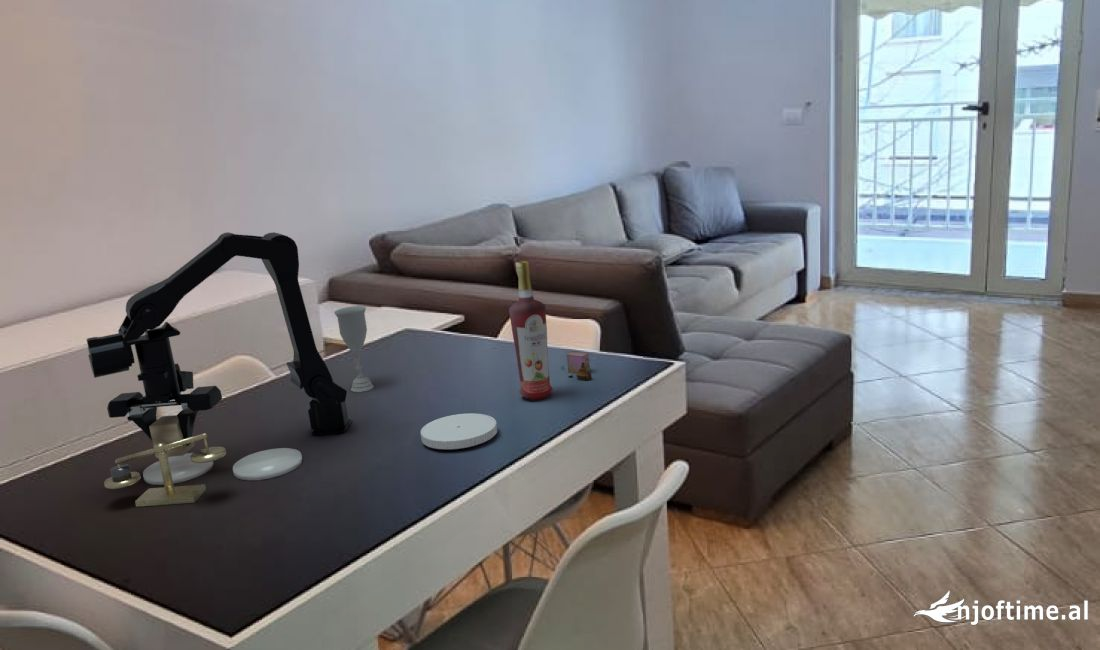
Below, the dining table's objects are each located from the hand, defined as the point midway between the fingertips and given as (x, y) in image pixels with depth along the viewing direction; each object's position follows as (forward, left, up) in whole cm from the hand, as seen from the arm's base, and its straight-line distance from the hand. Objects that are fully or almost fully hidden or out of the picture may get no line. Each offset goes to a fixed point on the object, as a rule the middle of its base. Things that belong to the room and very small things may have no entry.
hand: (174, 446), depth 168 cm
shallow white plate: (-17, +1, -5) cm, 18 cm away
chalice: (-24, -41, -5) cm, 48 cm away
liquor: (-64, -26, -5) cm, 69 cm away
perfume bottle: (-75, -39, -5) cm, 85 cm away
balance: (-4, +12, -5) cm, 14 cm away
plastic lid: (-51, -6, -5) cm, 52 cm away
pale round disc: (0, 0, -5) cm, 5 cm away
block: (0, 0, -1) cm, 1 cm away
